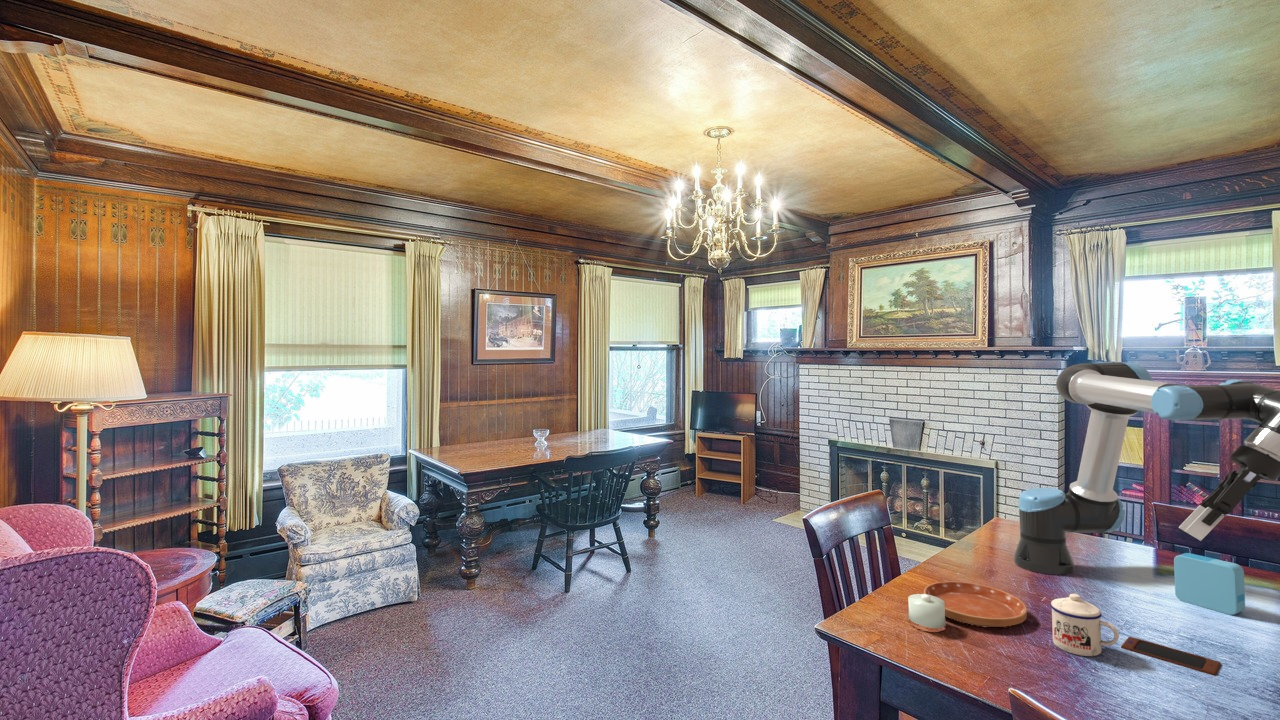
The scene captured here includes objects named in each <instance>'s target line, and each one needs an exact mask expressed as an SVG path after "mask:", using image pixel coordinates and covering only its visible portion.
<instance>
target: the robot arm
mask: <svg viewBox="0 0 1280 720" xmlns="http://www.w3.org/2000/svg"><path fill="white" fill-rule="evenodd" d="M1055 385H1056V390H1057V392H1058V394H1059V396H1061V397H1062V398H1063V399H1064V400H1066V401H1068V402H1071V403H1074V404H1079V405H1080V404H1082V405H1086V407H1087V408H1088V409H1089V410H1090V414H1089V420H1088V423H1087V424H1088V425H1087V431H1086V435H1085V440H1084V444H1083V450H1082V455H1081V459H1080V465H1079V470H1078V475H1077V479H1076V480H1075V481H1073V482H1071V483H1070V484H1069V487H1068V492H1067V493H1065V492H1063V490H1061V489H1058V488H1050V487H1047V488H1045V487H1035V488H1029V489H1026V490H1024V491H1022V492H1021V493H1020V494H1019V498H1018V512H1019V514H1018V516H1019V532H1020V533H1019V535H1020V536H1019V537H1020V538H1019V540H1018V542H1017V545H1016V549H1015V550H1014V551H1015V552H1014V555H1013V557H1014V564H1015V565H1017V566H1018V567H1021V568H1022V569H1025V570H1027V571H1032V572H1035V573H1039V574H1047V575H1056V576H1057V575H1058V576H1059V575H1061V576H1063V575H1070V574H1072V573H1074V572H1075V562H1074V559H1073V557H1072V555H1071V553H1070V550H1069V547H1068V545H1067V533H1071V534H1072V533H1095V534H1103V533H1111V532H1114V531H1115V532H1116V531H1117V530H1118V529H1119V528H1121V526H1122V525H1123V523H1124V521H1125V517H1126V516H1125V514H1126V513H1125V509H1123V508H1124V504H1123V502H1122V501H1121V499H1120V498H1119V494H1118V493H1117V492H1116V491H1115V490H1114V486H1115V480H1116V476H1117V472H1118V467H1119V464H1120V459H1121V455H1122V449H1123V444H1124V442H1125V441H1124V440H1125V437H1126V431H1127V427H1128V424H1129V423H1128V422H1129V418H1130V417H1132V416H1135V415H1136V414H1138V411H1140V412H1145V413H1151V414H1156V415H1157V416H1158V417H1159V418H1161V419H1163V420H1167V421H1179V422H1186V421H1199V420H1202V421H1205V420H1251V421H1254V422H1257V423H1259V425H1258V426H1257V427H1256V428H1255V429H1254V430H1253V431H1252V432H1251V433H1250V434H1249V435H1248V436H1247V437H1246V439H1244V444H1245V445H1239V446H1238V448H1236V449H1235V451H1234V452H1233V453H1232V454H1231V455H1230V456H1229V459H1230V461H1232V462H1233V463H1235V464H1236V465H1238V466H1239V467H1240V468H1238V469H1237V470H1232V471H1229V472H1228V473H1226V476H1225V477H1224V479H1222V480H1221V481H1220V483H1219V484H1218V486H1217V487H1215V489H1213V491H1212V492H1210V493H1209V494H1208V496H1206V498H1204V499H1202V500H1201V503H1200V505H1198V506H1197V508H1195V509H1194V510H1193V512H1192V513H1191V514H1190V515H1189V516H1188V517H1187V518H1186V519H1185V520H1184V521H1183V522H1182V523H1181V524H1180V525H1179V526H1178V529H1180V530H1181V531H1183V532H1185V533H1187V534H1188V535H1190V536H1192V537H1193V538H1195V539H1197V540H1199V541H1200V542H1202V540H1203V539H1204V538H1205V537H1206V536H1207V535H1208V534H1209V533H1210V532H1211V531H1213V529H1214V528H1215V527H1216V526H1217V525H1218V524H1219V523H1220V521H1222V520H1223V519H1224V518H1225V517H1226V515H1229V514H1230V513H1232V512H1233V510H1234V509H1235V508H1236V506H1238V504H1239V503H1240V502H1241V500H1243V499H1244V497H1245V496H1246V495H1247V494H1248V493H1249V492H1250V491H1251V490H1253V488H1254V487H1256V485H1257V484H1258V481H1260V480H1261V478H1263V479H1264V480H1265V479H1266V480H1268V481H1271V482H1272V481H1274V482H1275V481H1277V480H1278V479H1279V477H1280V390H1279V389H1276V388H1272V387H1268V386H1264V385H1261V384H1258V383H1257V382H1253V381H1250V380H1241V379H1235V378H1234V379H1228V380H1226V381H1224V382H1221V383H1219V384H1210V385H1195V384H1194V385H1191V384H1183V383H1180V384H1179V383H1174V382H1172V383H1171V382H1165V381H1154V380H1153V378H1152V376H1151V374H1150V372H1149V371H1148V370H1147V369H1146V367H1144V366H1143V365H1140V364H1139V363H1135V362H1122V361H1117V362H1099V363H1097V362H1094V363H1087V362H1086V363H1078V364H1073V365H1071V366H1068V367H1066V368H1064V370H1062V371H1061V372H1060V373H1059V374H1058V376H1057V378H1056V384H1055Z"/></svg>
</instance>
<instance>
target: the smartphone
mask: <svg viewBox="0 0 1280 720" xmlns="http://www.w3.org/2000/svg"><path fill="white" fill-rule="evenodd" d="M1120 648H1121V649H1123V650H1127V651H1130V652H1132V653H1133V652H1134V653H1135V654H1136V653H1137V654H1138V655H1139V654H1140V655H1143V656H1147V657H1149V658H1154V659H1157V660H1159V661H1163V662H1167V663H1169V664H1174V665H1176V666H1181V667H1183V668H1187V669H1191V670H1193V671H1196V672H1200V673H1204V674H1207V675H1211V676H1215V677H1216V676H1217V674H1218V672H1219V670H1220V668H1221V666H1222V663H1221V661H1218V660H1216V659H1215V660H1214V659H1211V658H1208V657H1205V656H1201V655H1197V654H1195V653H1194V654H1193V653H1191V652H1187V651H1183V650H1179V649H1176V648H1172V647H1169V646H1166V645H1162V644H1158V643H1155V642H1151V641H1148V640H1144V639H1140V638H1137V637H1132V636H1128V638H1127V639H1126V640H1125V641H1124V642H1123V643H1122V644H1121V646H1120Z"/></svg>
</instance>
